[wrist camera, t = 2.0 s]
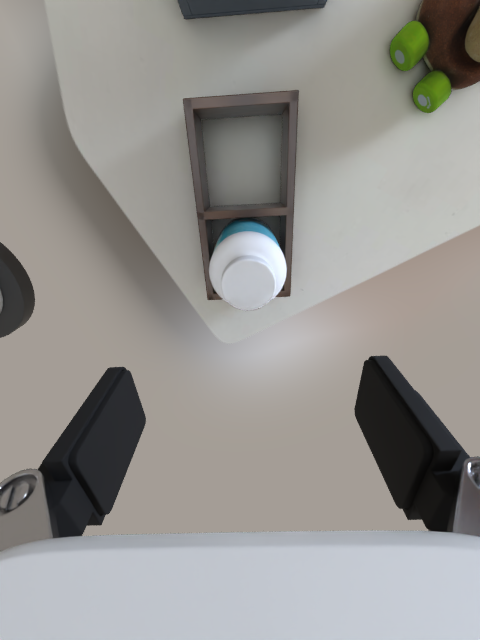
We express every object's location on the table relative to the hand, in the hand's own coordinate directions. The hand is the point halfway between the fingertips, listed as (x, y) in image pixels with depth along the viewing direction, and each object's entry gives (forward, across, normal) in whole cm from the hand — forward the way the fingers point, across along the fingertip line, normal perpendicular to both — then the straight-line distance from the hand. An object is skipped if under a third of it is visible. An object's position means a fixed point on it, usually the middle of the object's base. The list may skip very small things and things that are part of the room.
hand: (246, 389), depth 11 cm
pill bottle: (+26, 0, 0) cm, 26 cm away
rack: (+26, 0, -4) cm, 27 cm away
